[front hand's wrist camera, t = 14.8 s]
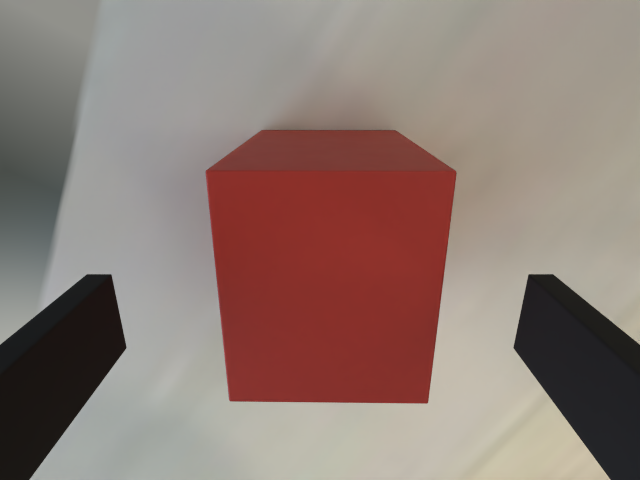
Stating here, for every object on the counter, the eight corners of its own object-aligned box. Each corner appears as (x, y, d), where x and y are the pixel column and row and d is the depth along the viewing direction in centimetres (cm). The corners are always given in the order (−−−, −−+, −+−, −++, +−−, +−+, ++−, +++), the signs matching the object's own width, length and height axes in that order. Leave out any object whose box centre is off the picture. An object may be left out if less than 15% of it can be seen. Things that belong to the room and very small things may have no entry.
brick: (261, 129, 22) (204, 170, 12) (396, 130, 22) (457, 171, 12) (268, 272, 25) (228, 401, 15) (386, 273, 25) (428, 404, 15)
